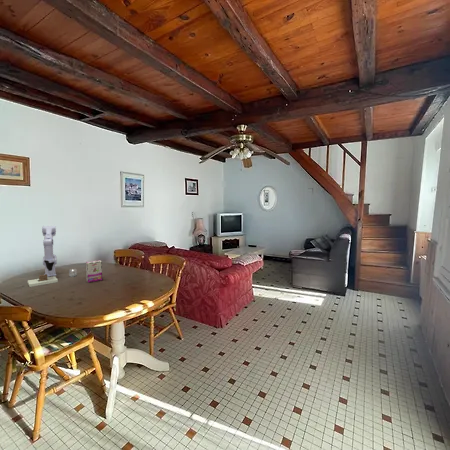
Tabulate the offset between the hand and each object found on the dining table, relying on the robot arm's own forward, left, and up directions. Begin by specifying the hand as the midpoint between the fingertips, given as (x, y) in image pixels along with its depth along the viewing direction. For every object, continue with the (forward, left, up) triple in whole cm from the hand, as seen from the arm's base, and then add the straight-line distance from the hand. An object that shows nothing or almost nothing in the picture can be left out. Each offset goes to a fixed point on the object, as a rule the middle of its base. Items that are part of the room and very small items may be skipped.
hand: (49, 269), depth 198 cm
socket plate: (+2, -5, -9) cm, 11 cm away
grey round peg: (-2, +17, -9) cm, 20 cm away
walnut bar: (+2, -5, -9) cm, 11 cm away
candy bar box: (+23, +27, -10) cm, 37 cm away
